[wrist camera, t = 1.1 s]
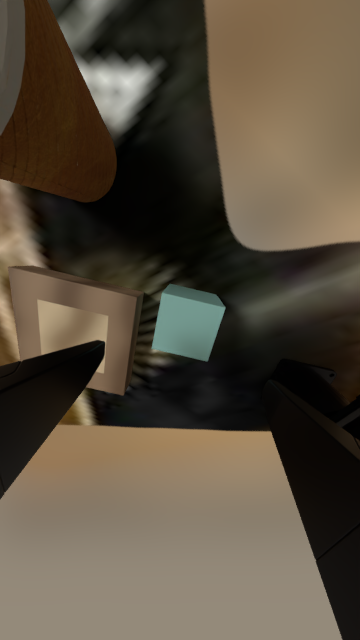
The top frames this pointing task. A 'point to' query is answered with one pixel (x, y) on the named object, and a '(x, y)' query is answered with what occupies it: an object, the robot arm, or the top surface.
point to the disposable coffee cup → (48, 110)
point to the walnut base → (77, 320)
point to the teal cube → (187, 322)
